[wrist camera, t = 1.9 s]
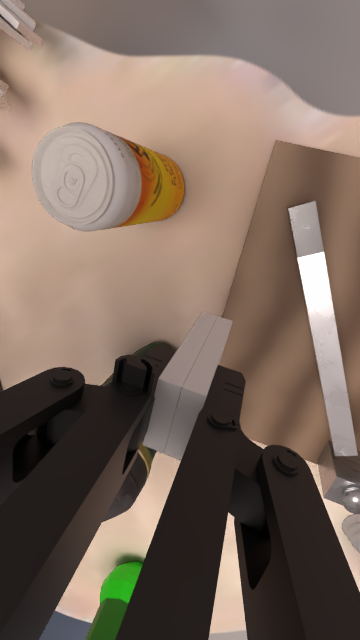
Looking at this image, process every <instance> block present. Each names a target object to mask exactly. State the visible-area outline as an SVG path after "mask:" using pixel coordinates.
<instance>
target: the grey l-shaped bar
mask: <svg viewBox="0 0 360 640" xmlns="http://www.w3.org/2000/svg"><path fill="white" fill-rule="evenodd" d="M359 441H360V438H359ZM357 453H358V455H357V456H335V453H334V449H333V445H332V442H331V441H328V442H327V444H326V446H325V447H324V449H323V451H322V453H321V455H320V457H319V459H318V460H317V461H318V467H319V472H320V478H321V484H322V490H323V496H324V498H326V499H328V500H331V501H333V502H336V503H338V504H341V505H343V506H344V507H345V508H346V509H347V510H348V511H349V512H351V513H354V514H360V452H358V451H357Z"/></svg>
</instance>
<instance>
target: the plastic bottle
mask: <svg viewBox="0 0 360 640" xmlns="http://www.w3.org/2000/svg"><path fill="white" fill-rule="evenodd" d="M142 565H143V564H142V563H140V562H132V561H130V562H129V563H125V564H121V565H119V566H117V567H116V568H115V569H114V570H113V571H112V572H111V573H110V574H109V576H108V577H107V578H106V579H105V580H104V582H103V584H102V587H101V592H100V606H99V609H98V611H97V613H96V615H95V618H94V620H93V622H92V625H91V627H90V629H89V632H88V634H87V636H86V639H85V640H115V638H116V636H117V633H118V630H119V628H120V625H121V622H122V619H123V617H124V614H125V611H126V609H127V606H128V603H129V601H130V598H131V595H132V592H133V590H134V587H135V584H136V582H137V579H138V576H139V573H140V571H141V568H142Z"/></svg>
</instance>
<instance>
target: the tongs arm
mask: <svg viewBox="0 0 360 640" xmlns="http://www.w3.org/2000/svg"><path fill="white" fill-rule="evenodd" d="M287 211H288V216H289V221H290V227H291V232H292V237H293V242H294V248H295V253H296V258H297V263H298V269H299V274H300V279H301V284H302V290H303V295H304V300H305V305H306V311H307V316H308V321H309V326H310V332H311V337H312V342H313V347H314V353H315V358H316V363H317V369H318V374H319V379H320V384H321V390H322V395H323V400H324V405H325V411H326V416H327V421H328V426H329V432H330V437H331V441H332V445H333V449H334V453H335V456H357V455H358V453H357V447H356V441H355V435H354V429H353V423H352V417H351V411H350V405H349V399H348V393H347V387H346V381H345V375H344V369H343V363H342V357H341V351H340V345H339V339H338V333H337V327H336V321H335V315H334V309H333V303H332V297H331V291H330V285H329V279H328V273H327V267H326V261H325V255H324V249H323V243H322V237H321V231H320V225H319V219H318V213H317V207H316V201H309V202H306V203H302V204H299V205H295V206H292V207H289V208H287Z"/></svg>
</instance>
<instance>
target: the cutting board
mask: <svg viewBox="0 0 360 640" xmlns="http://www.w3.org/2000/svg"><path fill="white" fill-rule="evenodd" d="M309 201H316V207H317V213H318V219H319V225H320V231H321V237H322V243H323V249H324V255H325V261H326V267H327V273H328V279H329V285H330V291H331V297H332V303H333V309H334V315H335V321H336V327H337V333H338V339H339V345H340V351H341V357H342V363H343V369H344V375H345V381H346V387H347V393H348V399H349V405H350V411H351V417H352V423H353V429H354V435H355V441H356V447H357V451H358V452H360V441H359V438H360V158H358V157H353V156H348V155H343V154H339V153H334V152H329V151H324V150H320V149H315V148H310V147H305V146H301V145H296V144H291V143H286V142H282V141H277V140H276V142H275V145H274V148H273V151H272V155H271V158H270V161H269V165H268V168H267V171H266V175H265V178H264V181H263V185H262V188H261V191H260V194H259V198H258V201H257V204H256V208H255V211H254V214H253V218H252V221H251V224H250V228H249V231H248V234H247V238H246V241H245V244H244V247H243V251H242V254H241V257H240V261H239V264H238V267H237V271H236V274H235V277H234V281H233V284H232V287H231V290H230V294H229V297H228V300H227V304H226V307H225V310H224V314H223V317H222V318H225V319H229V320H232V321H233V322H232V325H231V329H230V332H229V335H228V338H227V341H226V344H225V347H224V351H223V354H222V357H221V360H220V363H219V365H220V366H223V367H226V368H229V369H232V370H235V371H238V372H241V373H242V374H243V376H244V378H245V380H246V383H245V389H244V395H243V402H242V408H241V414H240V420H239V421H240V425H241V430H242V431H243V433H244V434H245V436H246V437H247V438H249V439H252V440H254V441H257V442H260V443H262V444H265V445H268V446H270V445H281V446H284V447H287V448H290V449H291V450H293V451H295V452H296V453H298V454H299V455H300V456H301V457H302V458H303V459H305V460H308V461H310V462H313V463H316V464H318V461H317V460H318V459H319V457H320V455H321V453H322V451H323V449H324V447H325V446H326V444H327V442H328V441H331V437H330V432H329V426H328V421H327V416H326V411H325V405H324V400H323V395H322V390H321V384H320V379H319V374H318V369H317V363H316V358H315V353H314V347H313V342H312V337H311V332H310V326H309V321H308V316H307V311H306V305H305V300H304V295H303V290H302V284H301V279H300V274H299V269H298V263H297V258H296V253H295V248H294V242H293V237H292V232H291V227H290V221H289V216H288V211H287V208H289V207H292V206H295V205H299V204H302V203H306V202H309ZM331 442H332V441H331Z"/></svg>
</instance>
